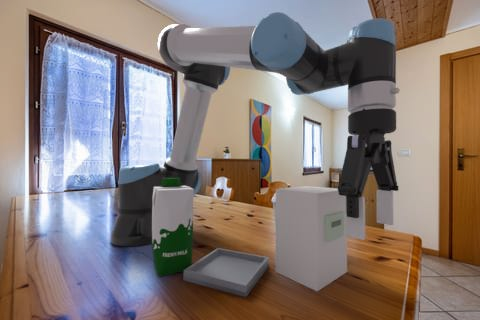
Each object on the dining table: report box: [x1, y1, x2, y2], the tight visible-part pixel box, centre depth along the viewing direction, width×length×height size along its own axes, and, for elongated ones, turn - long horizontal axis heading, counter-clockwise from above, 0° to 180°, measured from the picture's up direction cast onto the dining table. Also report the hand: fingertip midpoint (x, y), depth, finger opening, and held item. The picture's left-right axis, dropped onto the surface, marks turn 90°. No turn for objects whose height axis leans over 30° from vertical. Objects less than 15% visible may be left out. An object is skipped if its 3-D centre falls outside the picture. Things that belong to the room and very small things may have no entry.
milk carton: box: [151, 178, 194, 278], centre depth 52 cm, size 9×9×20 cm
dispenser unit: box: [275, 185, 348, 292], centre depth 50 cm, size 11×12×18 cm
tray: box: [182, 247, 270, 298], centre depth 49 cm, size 14×14×2 cm
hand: (371, 230), depth 41 cm, fingers open, 13 cm apart
